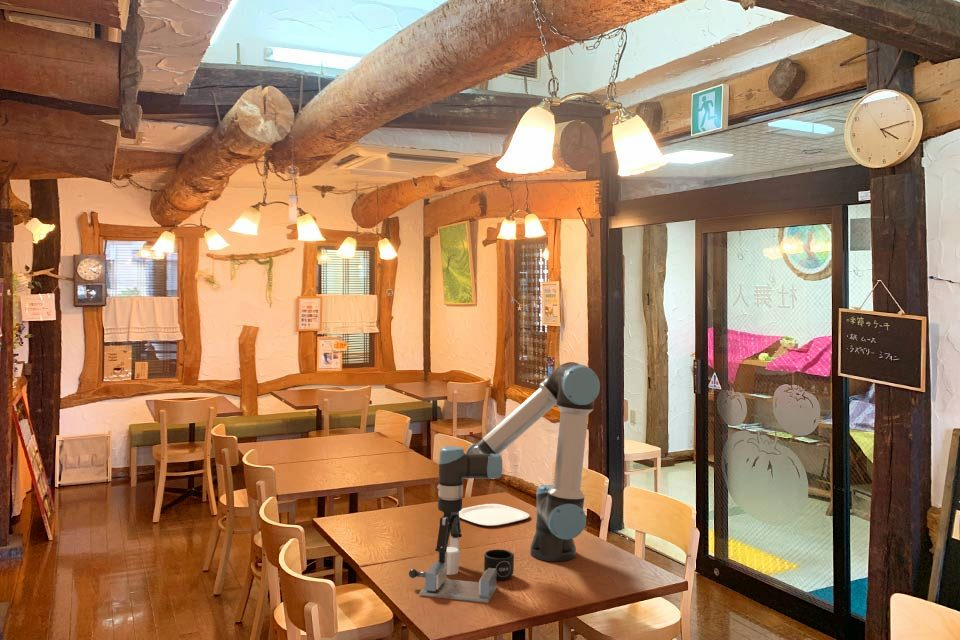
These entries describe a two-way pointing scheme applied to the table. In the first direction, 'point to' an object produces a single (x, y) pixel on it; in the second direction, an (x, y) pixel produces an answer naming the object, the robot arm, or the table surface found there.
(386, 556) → the table surface
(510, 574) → the mug
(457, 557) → the white cylinder
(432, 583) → the jaw
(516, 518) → the plate
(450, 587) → the vise
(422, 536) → the table surface
